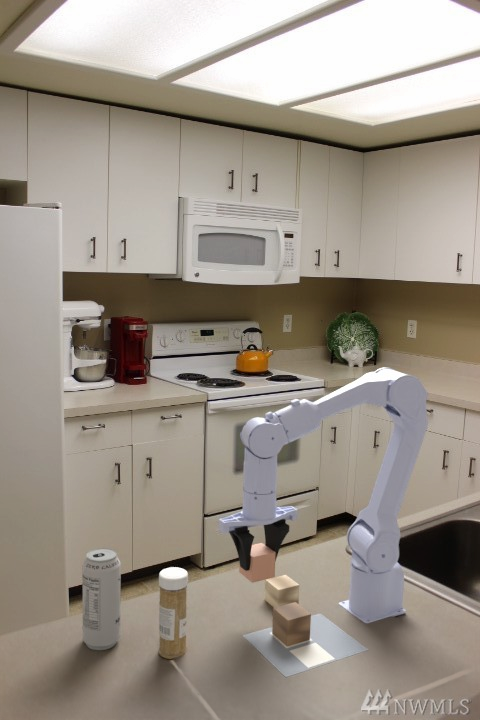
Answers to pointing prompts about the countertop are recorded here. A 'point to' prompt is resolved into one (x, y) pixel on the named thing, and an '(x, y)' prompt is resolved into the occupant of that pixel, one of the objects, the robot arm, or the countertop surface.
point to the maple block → (281, 591)
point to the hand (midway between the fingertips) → (257, 565)
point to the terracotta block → (260, 563)
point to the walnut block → (291, 624)
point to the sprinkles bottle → (172, 612)
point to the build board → (306, 647)
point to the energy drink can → (101, 598)
